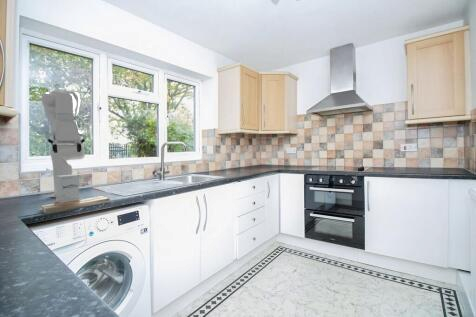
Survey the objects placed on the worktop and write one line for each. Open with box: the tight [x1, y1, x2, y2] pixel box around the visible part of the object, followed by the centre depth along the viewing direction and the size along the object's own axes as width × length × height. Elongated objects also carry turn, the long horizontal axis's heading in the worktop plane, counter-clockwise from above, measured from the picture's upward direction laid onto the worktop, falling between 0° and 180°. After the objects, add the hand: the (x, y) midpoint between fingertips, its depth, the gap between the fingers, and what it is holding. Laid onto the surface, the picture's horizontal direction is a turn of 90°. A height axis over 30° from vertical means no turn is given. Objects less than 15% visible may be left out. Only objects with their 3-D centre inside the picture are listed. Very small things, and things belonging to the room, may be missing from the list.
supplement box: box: [55, 174, 80, 203], centre depth 112 cm, size 7×7×13 cm
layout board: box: [40, 195, 111, 215], centre depth 115 cm, size 11×26×3 cm, turn 139°
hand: (67, 152), depth 117 cm, fingers open, 9 cm apart
